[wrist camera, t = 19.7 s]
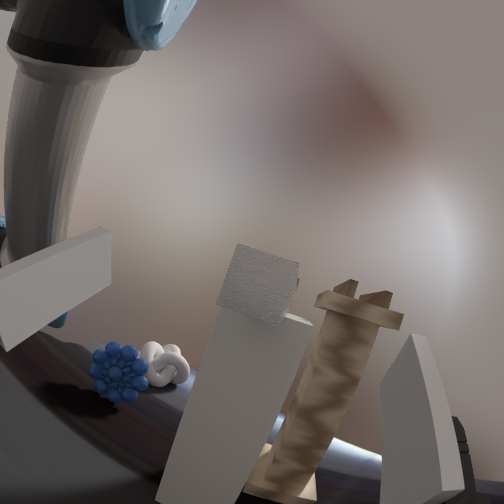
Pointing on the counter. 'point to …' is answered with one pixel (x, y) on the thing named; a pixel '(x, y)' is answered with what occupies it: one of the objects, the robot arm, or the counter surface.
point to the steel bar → (259, 285)
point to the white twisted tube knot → (164, 364)
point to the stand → (322, 394)
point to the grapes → (119, 372)
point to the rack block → (232, 407)
